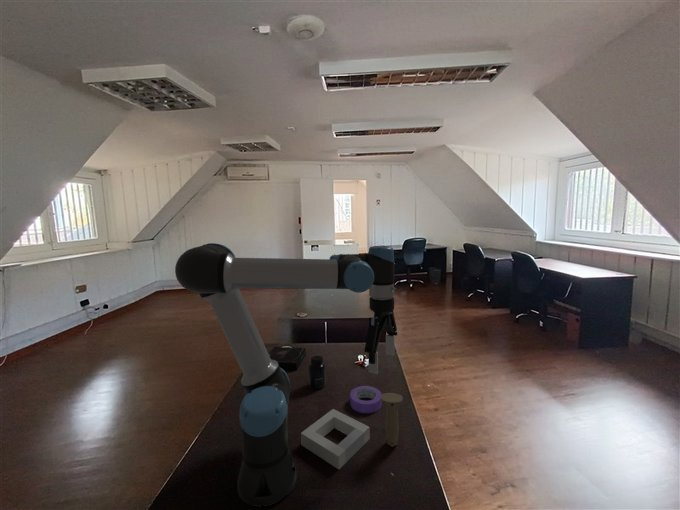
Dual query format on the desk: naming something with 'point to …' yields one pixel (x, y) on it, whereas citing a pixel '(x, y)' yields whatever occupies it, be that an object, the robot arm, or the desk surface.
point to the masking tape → (365, 405)
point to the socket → (326, 448)
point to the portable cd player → (288, 357)
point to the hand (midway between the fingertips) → (382, 363)
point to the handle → (392, 416)
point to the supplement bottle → (317, 373)
